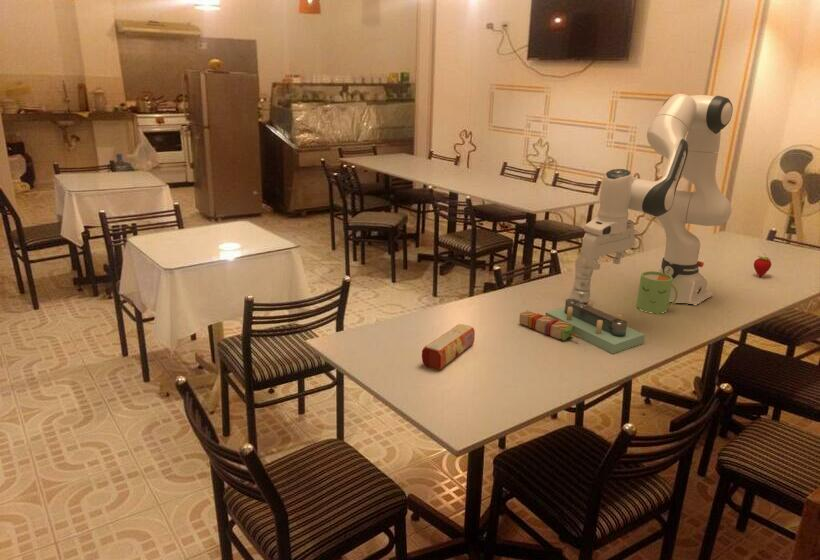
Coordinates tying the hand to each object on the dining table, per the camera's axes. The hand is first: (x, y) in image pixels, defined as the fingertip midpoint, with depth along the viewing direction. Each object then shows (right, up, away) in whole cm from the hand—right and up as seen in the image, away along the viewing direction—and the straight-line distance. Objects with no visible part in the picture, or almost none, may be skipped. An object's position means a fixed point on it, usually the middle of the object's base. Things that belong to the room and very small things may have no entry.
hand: (606, 266), depth 190 cm
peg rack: (-3, -21, +3) cm, 21 cm away
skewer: (-17, -21, +2) cm, 28 cm away
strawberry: (+81, -3, +57) cm, 99 cm away
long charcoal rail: (-3, -18, +2) cm, 18 cm away
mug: (+24, -15, +22) cm, 36 cm away
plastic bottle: (-1, -12, +27) cm, 30 cm away
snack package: (-50, -26, -14) cm, 58 cm away
